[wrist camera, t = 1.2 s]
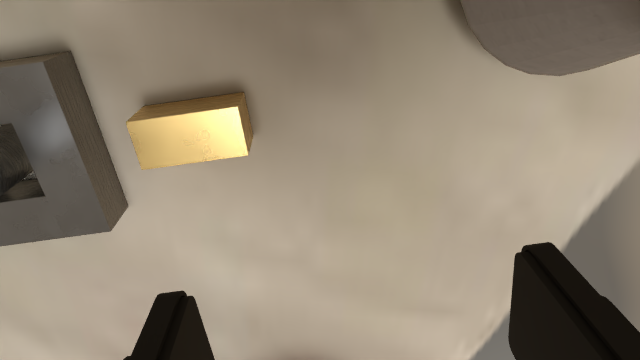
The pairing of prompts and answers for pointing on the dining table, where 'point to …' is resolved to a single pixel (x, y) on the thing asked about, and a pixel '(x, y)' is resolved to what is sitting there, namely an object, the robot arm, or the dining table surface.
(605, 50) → the coffee pot
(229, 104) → the yellow rectangular block
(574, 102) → the dining table surface
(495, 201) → the dining table surface
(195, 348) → the robot arm
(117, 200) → the socket
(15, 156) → the clear plastic bottle
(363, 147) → the dining table surface
